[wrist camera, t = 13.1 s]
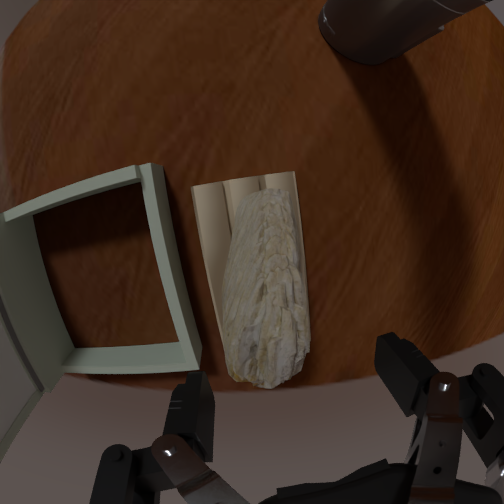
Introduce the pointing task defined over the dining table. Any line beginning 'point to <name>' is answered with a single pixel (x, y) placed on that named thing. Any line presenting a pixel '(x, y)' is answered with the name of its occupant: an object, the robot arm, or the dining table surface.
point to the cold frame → (49, 318)
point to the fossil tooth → (264, 293)
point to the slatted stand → (223, 220)
